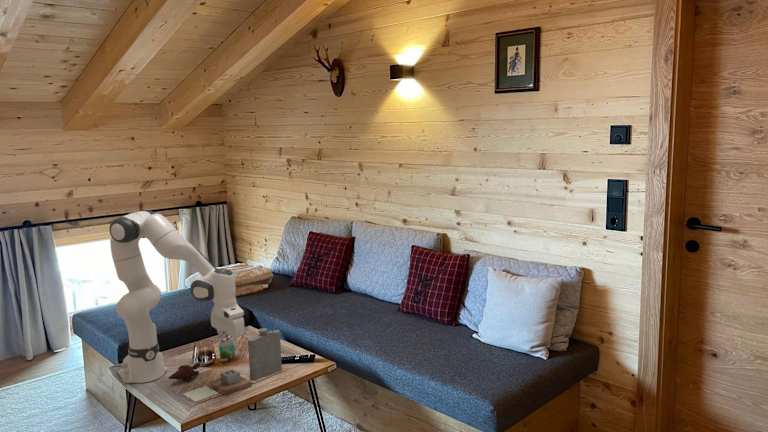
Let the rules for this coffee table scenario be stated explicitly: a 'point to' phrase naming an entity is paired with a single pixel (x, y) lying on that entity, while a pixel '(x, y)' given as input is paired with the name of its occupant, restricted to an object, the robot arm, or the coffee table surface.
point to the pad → (200, 393)
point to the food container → (227, 349)
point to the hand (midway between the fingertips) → (228, 341)
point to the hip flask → (264, 353)
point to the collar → (230, 377)
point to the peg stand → (232, 388)
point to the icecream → (185, 372)
